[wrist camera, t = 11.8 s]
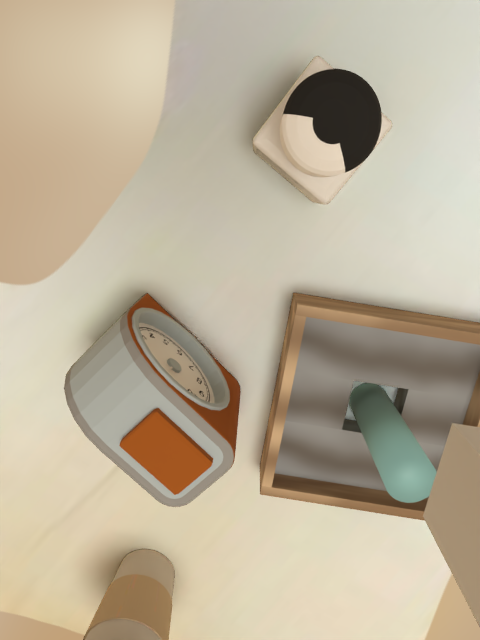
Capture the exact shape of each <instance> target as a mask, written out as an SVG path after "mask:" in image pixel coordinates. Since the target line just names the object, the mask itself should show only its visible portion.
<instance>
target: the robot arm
mask: <svg viewBox="0 0 480 640" xmlns="http://www.w3.org/2000/svg"><path fill="white" fill-rule="evenodd" d="M423 517H424V519H425V521H426V523H427V525H428V527H429V529H430V531H431V533H432V535H433V537H434V539H435V541H436V543H437V545H438V547H439V549H440V551H441V552H442V554H443V556H444V558H445V560H446V562H447V564H448V566H449V568H450V570H451V572H452V574H453V576H454V578H455V580H456V582H457V584H458V586H459V588H460V589H461V591H462V593H463V595H464V597H465V599H466V601H467V603H468V605H469V607H470V609H471V611H472V613H473V615H474V617H475V619H476V621H477V623H478V625H479V627H480V427H474V426H468V425H462V424H456V423H452V425H451V428H450V432H449V435H448V438H447V441H446V444H445V447H444V451H443V454H442V457H441V460H440V463H439V467H438V470H437V473H436V476H435V479H434V482H433V486H432V489H431V492H430V495H429V498H428V501H427V505H426V508H425V511H424V514H423Z"/></svg>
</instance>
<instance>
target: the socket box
mask: <svg viewBox="0 0 480 640" xmlns="http://www.w3.org/2000/svg"><path fill="white" fill-rule="evenodd" d="M354 381H360V382H366V383H373V384H379V385H385V386H391V387H397V388H398V392H397V396H396V399H395V403H394V406H395V407H396V409H397V410H398V412H399V413H400V415H401V417H402V418H403V420H404V421H405V423H406V424H407V426H408V427H409V429H410V430H411V432H412V434H413V435H414V437H415V438H416V440H417V441H418V443H419V444H420V446H421V448H422V449H423V451H424V452H425V454H426V455H427V457H428V458H429V460H430V462H431V463H432V465H433V466H434V468H435V469H436V472H437V470H438V467H439V463H440V460H441V457H442V454H443V451H444V447H445V444H446V441H447V438H448V435H449V432H450V428H451V425H452V423H456V424H462V425H468V426H474V427H480V323H478V322H471V321H465V320H459V319H453V318H447V317H441V316H434V315H428V314H422V313H416V312H410V311H403V310H397V309H391V308H385V307H379V306H373V305H366V304H360V303H354V302H348V301H342V300H335V299H329V298H323V297H317V296H311V295H305V294H298V293H293V297H292V302H291V307H290V312H289V318H288V323H287V328H286V333H285V338H284V343H283V349H282V354H281V359H280V364H279V369H278V375H277V380H276V385H275V390H274V395H273V401H272V406H271V411H270V416H269V421H268V426H267V432H266V437H265V442H264V447H263V452H262V458H261V463H260V494H261V495H268V496H274V497H280V498H287V499H293V500H299V501H306V502H312V503H318V504H324V505H331V506H337V507H343V508H350V509H356V510H362V511H369V512H375V513H381V514H387V515H394V516H400V517H406V518H413V519H419V520H425V519H424V517H423V514H424V511H425V508H426V505H427V501H428V498H429V496H428V497H427V498H425V499H423V500H421V501H418V502H414V503H405V502H401V501H398V500H396V499H394V498H393V497H392V496H390V494H389V493H388V492H387V490H386V488H385V485H384V483H383V481H382V478H381V476H380V474H379V471H378V469H377V467H376V465H375V462H374V460H373V458H372V455H371V453H370V451H369V448H368V446H367V444H366V442H365V439H364V437H363V435H362V432H361V430H360V428H359V425H358V423H357V421H352V420H346V419H345V415H346V411H347V407H348V402H349V398H350V394H351V390H352V386H353V382H354Z"/></svg>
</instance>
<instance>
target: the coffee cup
mask: <svg viewBox="0 0 480 640" xmlns="http://www.w3.org/2000/svg"><path fill="white" fill-rule="evenodd" d="M174 578H175V571H174V568H173V565H172V563H171V562H170V561H169V559H168V558H167V557H165V556H164V555H163V554H161V553H159V552H157V551H154V550H150V549H140V550H135V551H133V552H131V553H129V554H128V555H126V556H125V557H124V559H123V560H122V562H121V564H120V566H119V569H118V571H117V573H116V575H115V577H114V579H113V581H112V583H111V584H110V586H109V587H108V589H107V591H106V593H105V595H104V597H103V599H102V601H101V603H100V605H99V608H98V610H97V612H96V614H95V616H94V618H93V620H92V622H91V624H90V626H89V628H88V630H87V632H86V634H85V636H84V639H83V640H168V639H169V630H170V621H171V611H172V595H173V586H174Z"/></svg>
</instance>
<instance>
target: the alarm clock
mask: <svg viewBox="0 0 480 640" xmlns="http://www.w3.org/2000/svg"><path fill="white" fill-rule="evenodd" d="M64 390H65V395H66V400H67V404H68V406H69V408H70V411H71V413H72V415H73V417H74V420H75V421H76V422H77V424H78V425H79V427H80V428H81V430H82V431H83V433H84V434H85V435H86V436H87V438H88V439H89V440H90V441H91V442H92V443H93V444H94V445H95V446H96V447H97V448H98V449H99V450H100V451H101V452H102V453H104V454H105V455H106V456H107V457H108V458H109V459H110V460H112V461H113V462H114V463H115V464H116V465H117V466H118V467H120V468H121V469H122V470H123V471H124V472H125V473H126V474H128V475H129V476H130V477H131V478H132V479H133V480H134V481H136V482H137V483H138V484H139V485H140V486H141V487H142V488H144V489H145V490H146V491H147V492H148V493H149V494H150V495H152V496H153V497H154V498H155V499H156V500H157V501H159V502H160V503H162V504H164V505H167V506H171V507H180V506H184V505H187V504H188V503H190V502H191V501H193V500H194V499H195V498H196V497H197V496H199V495H200V494H201V493H202V492H203V491H205V490H206V489H207V488H208V487H209V486H211V485H212V484H213V483H214V482H215V481H217V480H218V479H219V478H220V477H221V476H223V475H224V474H225V473H226V472H227V471H228V470H229V469H230V468H231V467H232V465H233V463H234V458H235V449H236V437H237V426H238V414H239V403H240V386H239V384H238V382H237V381H236V379H235V378H234V377H233V376H232V375H231V374H230V373H229V372H228V371H227V370H226V369H225V368H224V367H223V366H222V365H221V364H220V363H219V362H217V361H216V360H215V359H214V358H213V357H212V356H211V355H210V354H209V353H208V352H207V350H206V349H205V348H204V347H203V346H202V345H201V344H200V343H199V341H198V340H197V339H196V338H195V337H194V336H193V335H192V334H191V333H189V332H188V331H187V330H186V329H185V328H184V327H183V326H181V325H180V324H179V323H177V322H176V321H175V320H174V319H173V318H172V317H171V316H170V315H169V314H168V313H167V312H166V311H165V310H164V309H163V308H162V307H161V306H160V305H159V304H158V303H157V302H156V301H155V300H154V299H153V298H152V297H151V296H150V295H149V294H148V293H146V294H145V295H144V296H143V297H142V298H140V299H139V300H138V301H137V302H136V303H135V304H134V305H133V306H132V307H130V308H129V309H128V310H127V311H126V312H125V313H124V314H123V315H122V316H121V317H120V318H119V319H118V320H117V321H116V322H115V323H114V324H113V325H112V326H111V327H110V328H109V329H108V330H107V331H106V332H105V333H104V334H103V335H102V336H101V337H100V338H99V339H98V340H97V341H96V342H95V343H94V344H93V345H92V346H91V347H90V348H89V349H88V350H87V351H86V352H85V353H84V354H83V355H82V356H81V357H80V358H79V359H78V360H77V361H76V362H75V363H74V364H73V365H72V366H71V368H70V370H69V371H68V373H67V374H66V379H65V386H64Z"/></svg>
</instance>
